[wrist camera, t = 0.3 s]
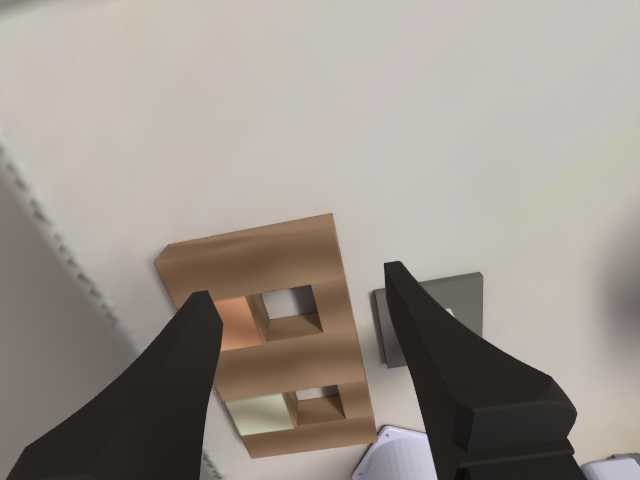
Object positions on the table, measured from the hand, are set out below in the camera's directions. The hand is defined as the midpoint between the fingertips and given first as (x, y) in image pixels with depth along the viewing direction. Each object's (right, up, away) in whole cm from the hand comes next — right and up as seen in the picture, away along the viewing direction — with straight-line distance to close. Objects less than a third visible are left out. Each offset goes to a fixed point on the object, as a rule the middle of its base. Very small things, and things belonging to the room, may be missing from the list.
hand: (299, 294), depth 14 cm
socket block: (-2, -7, +15) cm, 17 cm away
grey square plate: (+10, -4, +14) cm, 18 cm away
